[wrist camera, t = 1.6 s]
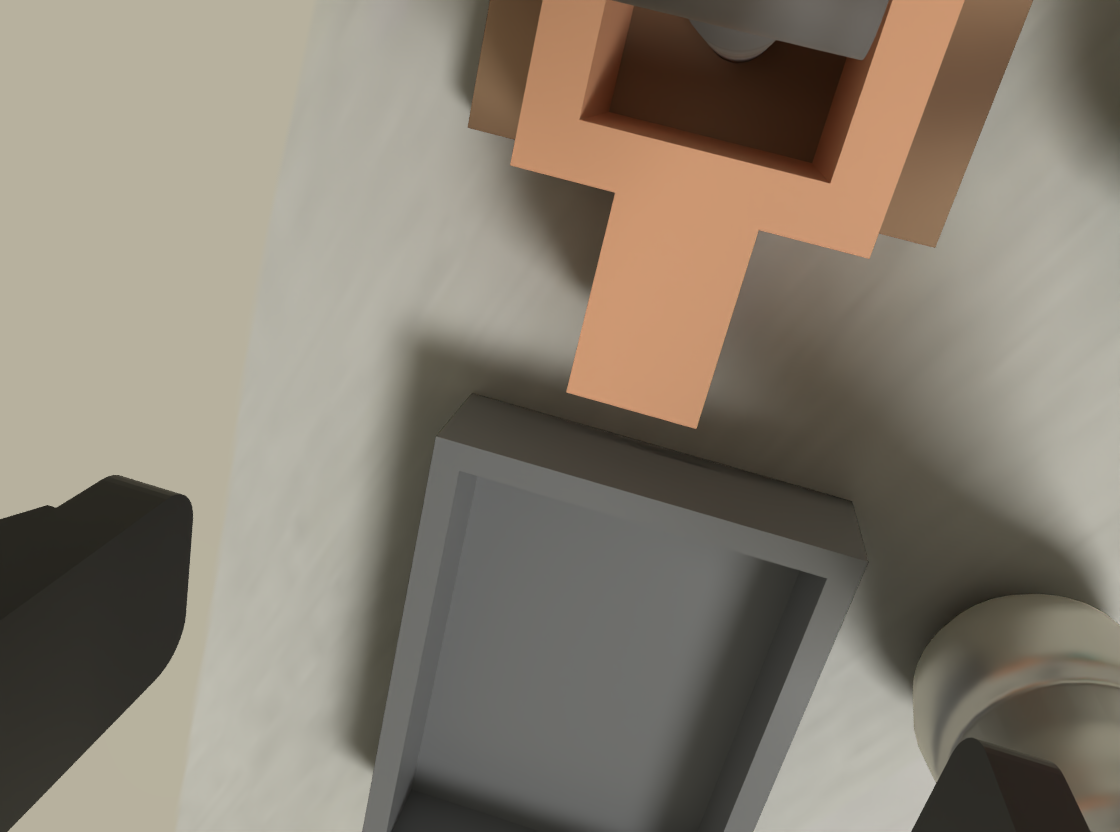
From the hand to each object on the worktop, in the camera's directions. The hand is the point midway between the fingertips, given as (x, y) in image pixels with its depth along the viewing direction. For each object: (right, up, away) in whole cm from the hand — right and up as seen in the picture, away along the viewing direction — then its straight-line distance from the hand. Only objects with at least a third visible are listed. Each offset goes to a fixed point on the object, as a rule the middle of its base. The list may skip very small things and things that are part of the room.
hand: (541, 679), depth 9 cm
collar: (+4, +10, +12) cm, 16 cm away
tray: (+1, -6, +20) cm, 21 cm away
